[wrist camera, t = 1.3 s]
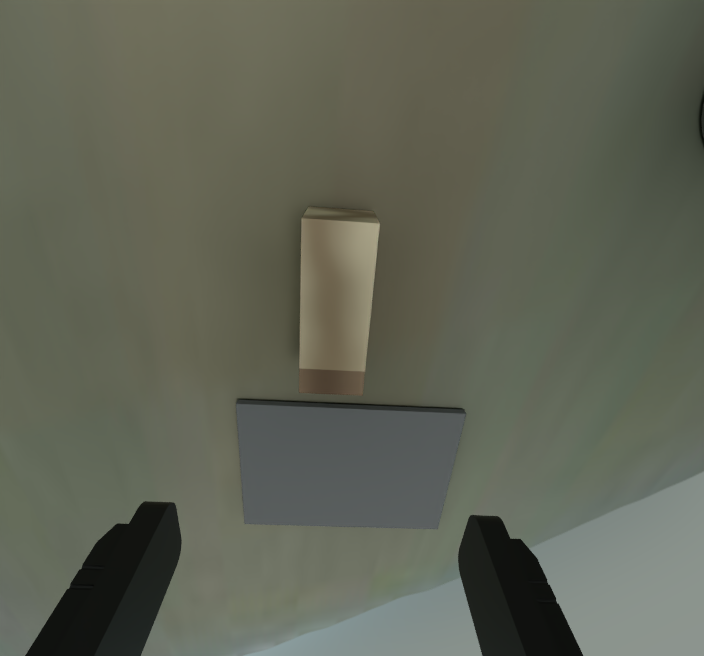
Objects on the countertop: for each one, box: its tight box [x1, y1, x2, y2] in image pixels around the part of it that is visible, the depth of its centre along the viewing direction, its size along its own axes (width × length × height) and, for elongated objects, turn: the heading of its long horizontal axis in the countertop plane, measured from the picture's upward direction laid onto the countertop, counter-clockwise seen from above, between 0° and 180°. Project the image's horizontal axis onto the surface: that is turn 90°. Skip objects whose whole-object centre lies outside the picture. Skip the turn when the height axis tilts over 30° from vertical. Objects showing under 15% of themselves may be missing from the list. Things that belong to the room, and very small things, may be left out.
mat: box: [236, 400, 466, 529], centre depth 36 cm, size 20×15×1 cm
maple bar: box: [299, 206, 380, 396], centre depth 26 cm, size 4×12×5 cm, turn 176°
